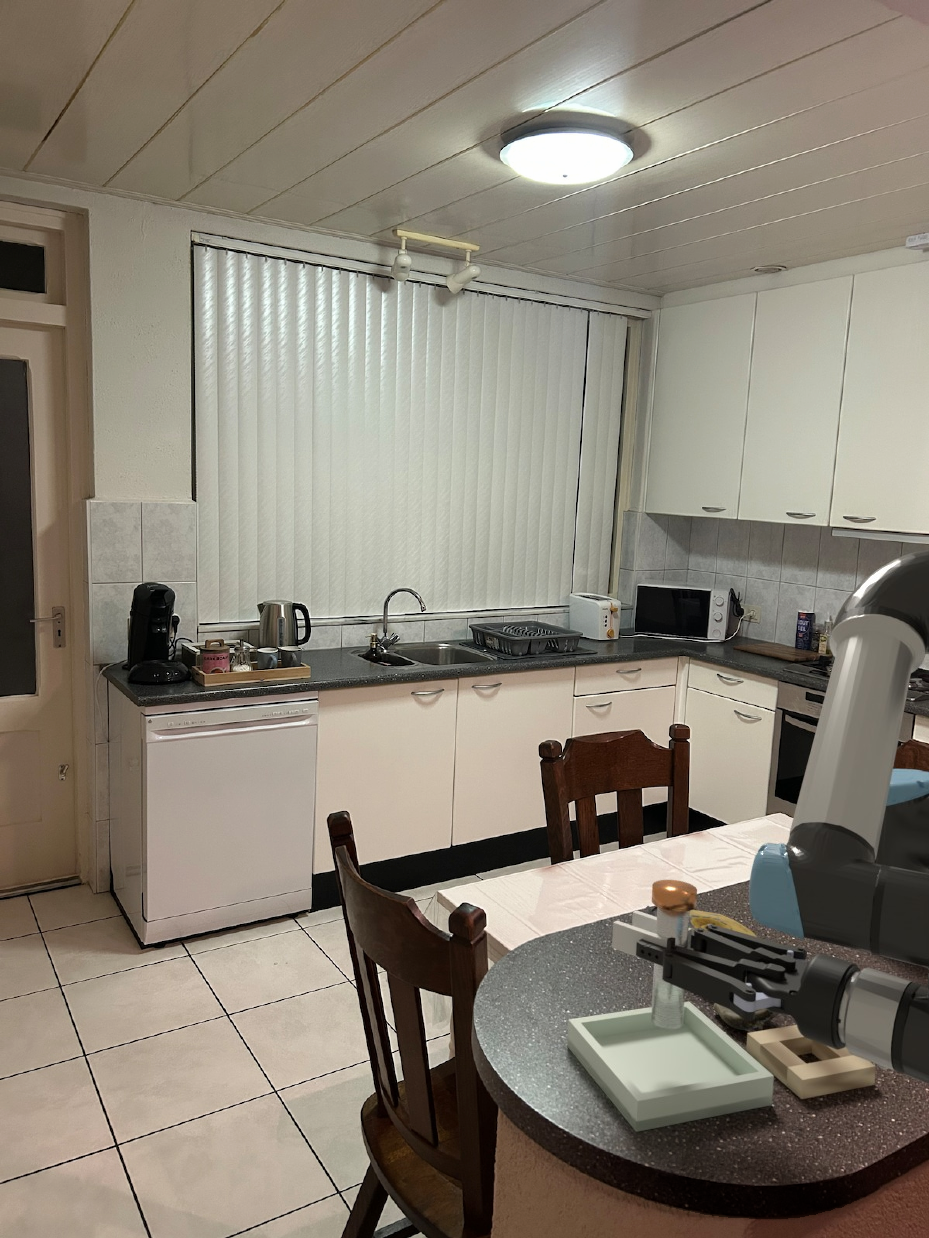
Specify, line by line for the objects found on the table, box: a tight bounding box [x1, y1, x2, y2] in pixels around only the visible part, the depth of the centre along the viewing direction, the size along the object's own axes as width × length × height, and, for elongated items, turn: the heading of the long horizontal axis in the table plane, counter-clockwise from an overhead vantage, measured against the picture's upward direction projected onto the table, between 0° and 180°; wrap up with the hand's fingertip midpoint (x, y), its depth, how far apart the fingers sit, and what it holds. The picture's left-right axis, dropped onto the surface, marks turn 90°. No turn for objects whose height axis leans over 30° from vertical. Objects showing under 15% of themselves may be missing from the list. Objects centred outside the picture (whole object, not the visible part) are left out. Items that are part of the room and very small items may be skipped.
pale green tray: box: [566, 1001, 775, 1133], centre depth 95 cm, size 15×15×3 cm
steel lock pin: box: [651, 879, 698, 1029], centre depth 94 cm, size 4×4×14 cm
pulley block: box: [646, 905, 780, 1032], centre depth 117 cm, size 14×6×30 cm
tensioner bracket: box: [745, 1024, 876, 1100], centre depth 97 cm, size 9×9×2 cm
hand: (624, 928), depth 97 cm, fingers closed on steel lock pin, 3 cm apart
